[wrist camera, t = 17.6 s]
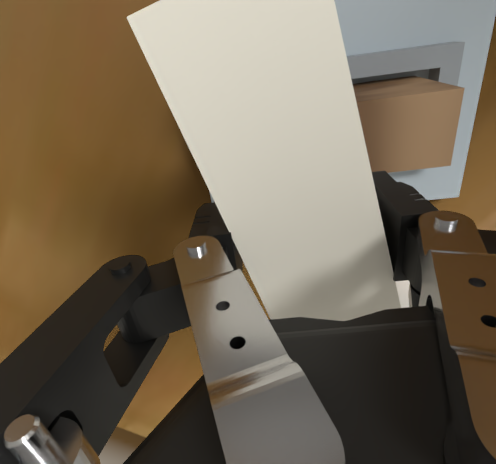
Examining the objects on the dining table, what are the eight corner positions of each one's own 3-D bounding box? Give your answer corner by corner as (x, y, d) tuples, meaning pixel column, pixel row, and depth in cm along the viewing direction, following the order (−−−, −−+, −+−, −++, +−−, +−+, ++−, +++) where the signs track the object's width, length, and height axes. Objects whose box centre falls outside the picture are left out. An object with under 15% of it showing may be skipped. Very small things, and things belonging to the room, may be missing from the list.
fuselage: (413, 75, 22) (464, 88, 17) (407, 137, 24) (450, 165, 19) (230, 99, 23) (224, 118, 18) (238, 157, 25) (235, 190, 20)
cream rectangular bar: (170, 24, 11) (126, 17, 7) (291, -33, 10) (317, -78, 6) (299, 325, 17) (313, 409, 13) (378, 303, 17) (418, 386, 13)
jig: (491, -26, 20) (592, -51, 14) (450, 190, 27) (507, 234, 21) (179, 20, 22) (152, 14, 16) (216, 216, 28) (207, 263, 22)
